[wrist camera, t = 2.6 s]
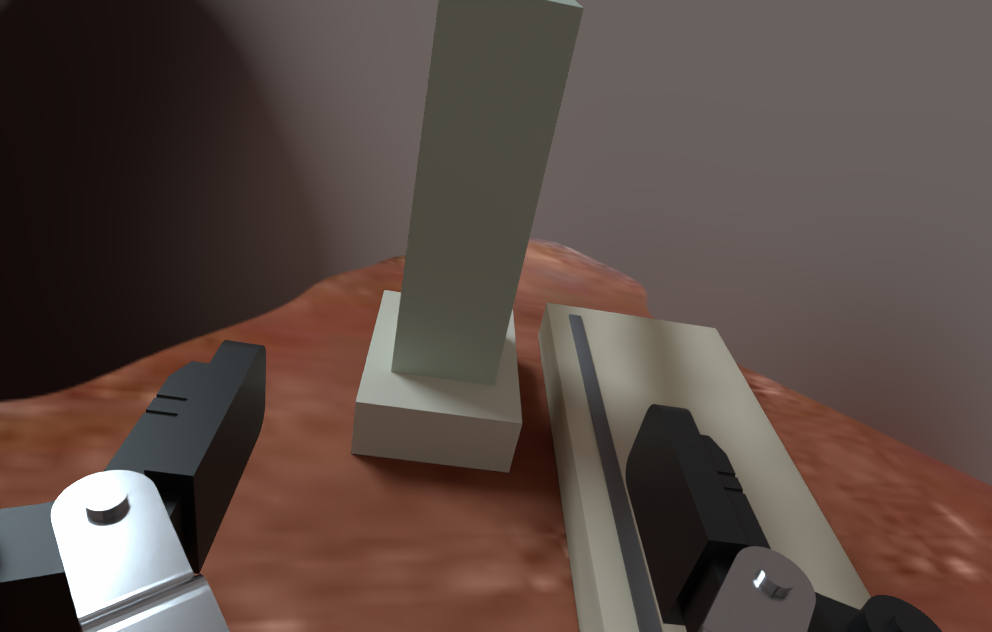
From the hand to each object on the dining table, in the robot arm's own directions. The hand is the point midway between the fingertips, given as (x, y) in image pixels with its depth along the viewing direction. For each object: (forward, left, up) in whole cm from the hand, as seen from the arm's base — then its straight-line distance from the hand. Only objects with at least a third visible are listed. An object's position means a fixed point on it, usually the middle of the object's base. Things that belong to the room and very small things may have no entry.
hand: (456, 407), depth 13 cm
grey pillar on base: (-4, -11, -9) cm, 14 cm away
